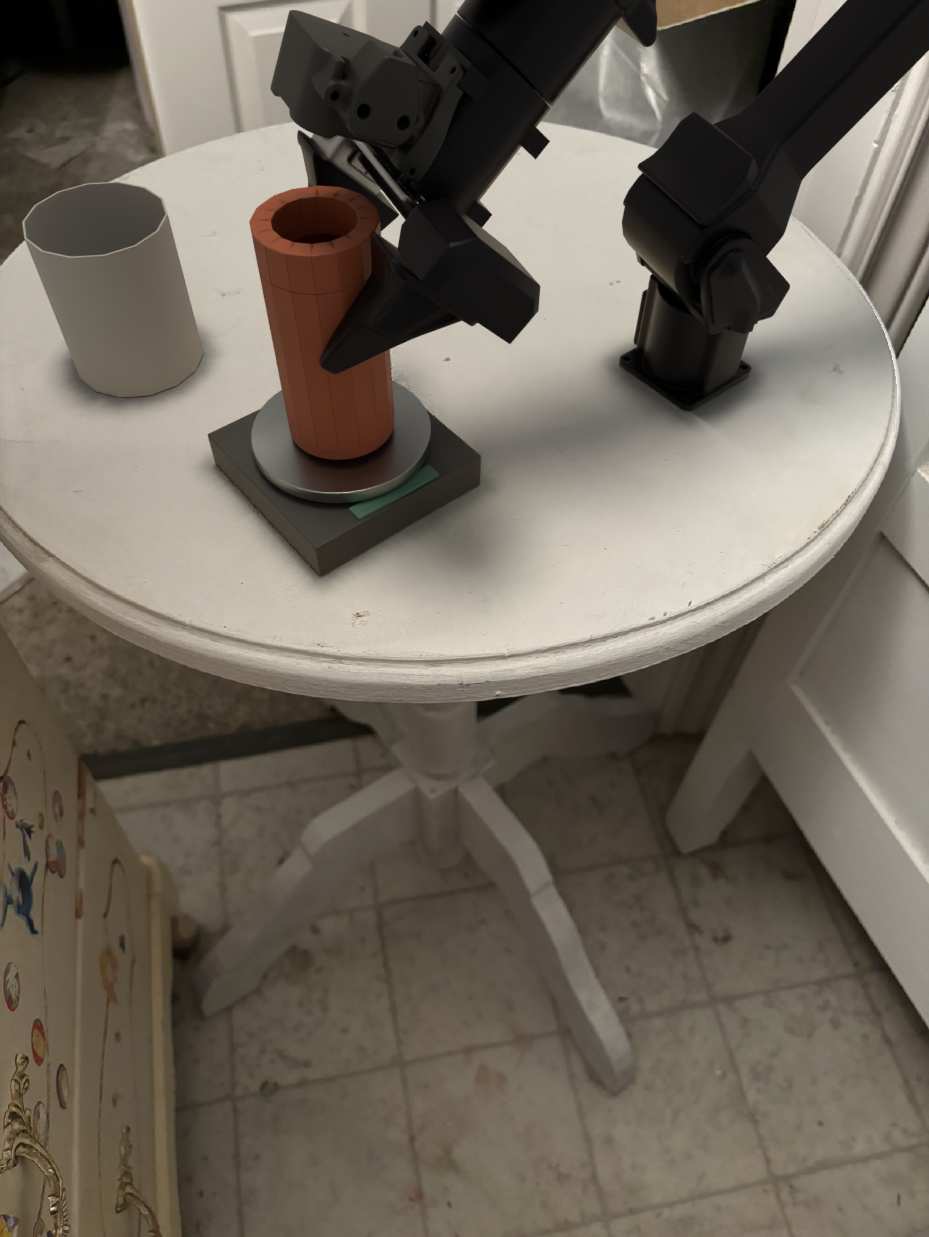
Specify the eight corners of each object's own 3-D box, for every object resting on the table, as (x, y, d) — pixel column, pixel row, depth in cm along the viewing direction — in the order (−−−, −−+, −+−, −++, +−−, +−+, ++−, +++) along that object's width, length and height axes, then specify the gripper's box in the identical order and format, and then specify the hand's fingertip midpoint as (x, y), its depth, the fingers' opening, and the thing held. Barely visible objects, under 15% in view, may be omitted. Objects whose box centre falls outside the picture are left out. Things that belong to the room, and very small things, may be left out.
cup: (52, 380, 62) (-8, 241, 54) (118, 310, 66) (72, 172, 58) (165, 408, 60) (120, 269, 52) (224, 334, 65) (192, 196, 57)
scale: (480, 485, 56) (481, 452, 54) (320, 577, 52) (314, 546, 50) (368, 387, 62) (365, 354, 59) (215, 463, 57) (205, 431, 55)
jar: (358, 376, 56) (336, 173, 46) (414, 431, 53) (403, 227, 43) (270, 416, 54) (227, 211, 44) (324, 475, 51) (290, 270, 41)
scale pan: (467, 449, 54) (467, 438, 53) (317, 532, 50) (315, 521, 49) (363, 360, 59) (362, 350, 58) (219, 429, 55) (216, 419, 54)
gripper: (298, -138, 41) (121, 163, 47) (482, 22, 31) (226, 380, 37) (460, 28, 49) (292, 266, 55) (647, 197, 39) (416, 466, 45)
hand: (304, 333), depth 48 cm, fingers closed on jar, 6 cm apart
